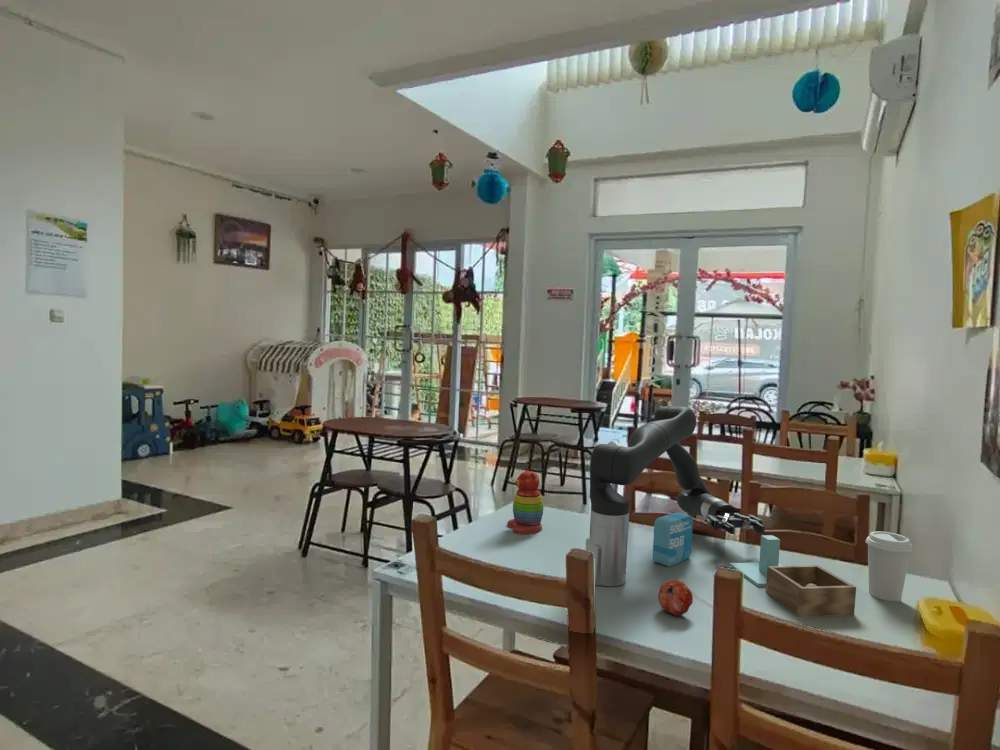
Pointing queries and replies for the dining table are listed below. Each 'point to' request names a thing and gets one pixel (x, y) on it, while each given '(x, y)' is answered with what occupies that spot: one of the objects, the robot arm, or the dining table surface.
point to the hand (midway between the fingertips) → (748, 530)
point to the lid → (761, 561)
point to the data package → (672, 538)
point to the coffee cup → (887, 564)
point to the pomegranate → (675, 597)
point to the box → (810, 590)
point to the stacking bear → (527, 505)
